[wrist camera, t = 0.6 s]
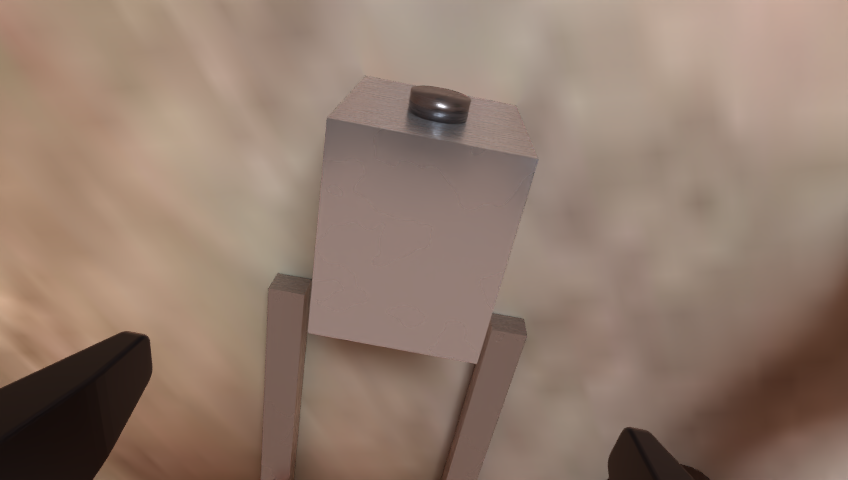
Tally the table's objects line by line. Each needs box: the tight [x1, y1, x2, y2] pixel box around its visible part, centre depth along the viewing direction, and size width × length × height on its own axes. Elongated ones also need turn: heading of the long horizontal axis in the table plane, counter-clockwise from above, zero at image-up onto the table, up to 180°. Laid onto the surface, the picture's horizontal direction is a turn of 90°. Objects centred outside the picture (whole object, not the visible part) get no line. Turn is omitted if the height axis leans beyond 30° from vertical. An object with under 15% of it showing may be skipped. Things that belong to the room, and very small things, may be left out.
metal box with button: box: [308, 76, 538, 364], centre depth 17 cm, size 6×8×6 cm
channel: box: [261, 273, 527, 480], centre depth 24 cm, size 11×18×4 cm, turn 170°
